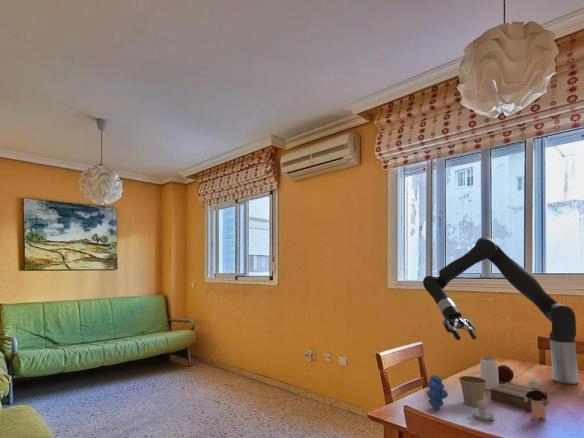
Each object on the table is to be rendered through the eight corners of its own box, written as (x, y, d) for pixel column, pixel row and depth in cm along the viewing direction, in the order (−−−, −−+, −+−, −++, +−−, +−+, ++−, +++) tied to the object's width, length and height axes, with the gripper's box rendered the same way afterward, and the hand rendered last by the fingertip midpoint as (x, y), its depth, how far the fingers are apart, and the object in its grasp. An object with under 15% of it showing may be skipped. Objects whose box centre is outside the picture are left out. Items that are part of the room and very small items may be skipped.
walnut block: (508, 392, 153) (507, 382, 153) (547, 402, 142) (546, 391, 142) (491, 400, 145) (490, 389, 145) (531, 411, 134) (530, 399, 134)
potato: (514, 380, 170) (513, 364, 171) (513, 385, 163) (512, 368, 164) (496, 377, 174) (495, 361, 175) (494, 382, 167) (493, 365, 168)
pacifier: (474, 414, 132) (469, 418, 128) (474, 394, 133) (468, 398, 128) (498, 419, 127) (492, 424, 123) (497, 399, 128) (491, 404, 124)
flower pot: (486, 401, 144) (484, 377, 145) (489, 410, 135) (488, 384, 136) (458, 398, 147) (457, 374, 148) (460, 406, 138) (459, 381, 139)
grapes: (443, 417, 128) (441, 380, 129) (423, 412, 132) (422, 376, 134) (454, 408, 137) (453, 373, 138) (435, 403, 141) (434, 369, 142)
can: (501, 391, 155) (499, 360, 156) (484, 390, 156) (482, 359, 157) (496, 386, 161) (494, 356, 162) (479, 385, 162) (478, 356, 164)
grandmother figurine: (544, 416, 129) (541, 377, 130) (552, 421, 125) (549, 381, 126) (522, 417, 129) (519, 377, 130) (529, 421, 125) (527, 381, 126)
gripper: (440, 305, 180) (458, 334, 167) (464, 304, 184) (484, 333, 172) (433, 315, 184) (450, 344, 172) (457, 314, 188) (476, 343, 176)
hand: (467, 338), depth 172 cm, fingers open, 8 cm apart
